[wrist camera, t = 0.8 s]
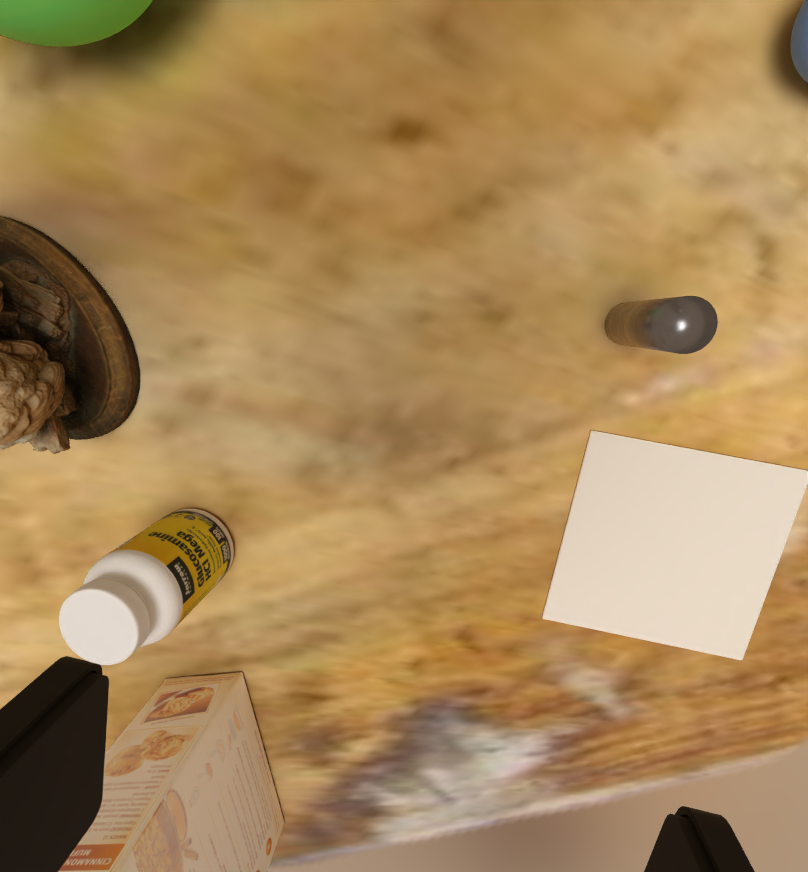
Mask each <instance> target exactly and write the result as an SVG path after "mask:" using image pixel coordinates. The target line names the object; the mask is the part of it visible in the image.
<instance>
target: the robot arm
mask: <svg viewBox="0 0 808 872" xmlns="http://www.w3.org/2000/svg"><path fill="white" fill-rule="evenodd" d="M108 689H109V679H108V677H107V676H104V675H102V667H101V666H100V664H96V663H92V662H88V661H84V660H80V659H76V658H72V657H68V656H66V657H62V658H60V659H59V660H58V661H56V662H55V663H54V664H53V665H51V666H50V667H49V668H48V669H47V670H46V671H44V672H43V673H42V674H41V675H40V676H39V677H37V678H36V679H35V680H34V681H33V682H32V683H31V684H29V685H28V686H27V687H26V688H25V689H24V690H22V691H21V692H20V693H19V694H18V695H17V696H15V697H14V698H13V699H12V700H11V701H10V702H8V703H7V704H6V705H5V706H4V707H3V708H2V709H0V872H58V871H59V870H60V868H61V867H62V865H63V864H64V863H65V861H66V860H67V859H68V857H69V856H70V854H71V853H72V852H73V850H74V849H75V847H76V846H77V845H78V843H79V842H80V840H81V839H82V838H83V836H84V835H85V833H86V832H87V831H88V829H89V828H90V826H91V825H92V823H93V822H94V820H95V818H96V816H97V814H98V812H99V809H100V806H101V803H102V797H103V779H104V761H105V743H106V725H107V707H108ZM644 872H754V870H753V868H752V866H751V864H750V862H749V860H748V858H747V856H746V855H745V853H744V851H743V849H742V847H741V845H740V843H739V841H738V839H737V837H736V836H735V834H734V832H733V830H732V828H731V826H730V825H729V823H728V822H727V820H726V819H725V818H724V817H722V816H721V815H718V814H713V813H709V812H705V811H701V810H697V809H693V808H689V807H684V806H682V807H680V808H679V809H678V811H677V812H676V814H675V815H673V814H669V815H667V817H666V819H665V821H664V824H663V826H662V828H661V831H660V834H659V836H658V838H657V841H656V843H655V846H654V849H653V851H652V853H651V856H650V858H649V861H648V863H647V866H646V868H645V871H644Z"/></svg>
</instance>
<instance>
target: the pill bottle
mask: <svg viewBox="0 0 808 872" xmlns="http://www.w3.org/2000/svg"><path fill="white" fill-rule="evenodd" d="M233 555H234V549H233V543H232V539H231V536H230V534H229V532H228V530H227V529H226V527H225V526H224V525H223V524H222V523H221V522H220V521H219V520H218V519H217V518H216V517H214V516H213V515H211V514H210V513H208V512H205V511H202V510H199V509H181V510H178V511H175V512H173V513H171V514H169V515H167V516H165V517H164V518H162V519H161V520H159V521H158V522H156V523H154V524H153V525H151V526H150V527H148V528H147V529H145V530H144V531H142V532H141V533H139V534H138V535H136V536H134V537H133V538H131V539H130V540H128V541H127V542H125V543H124V544H122V545H121V546H119V547H118V548H116V549H115V550H113V551H111V552H110V553H108V554H107V555H105V556H104V557H102V558H101V559H100V560H99V561H97V562H96V563H95V564H94V565H93V566H92V568H91V569H90V570H89V572H88V573H87V576H86V578H85V580H84V583H83V586H81V587H80V588H79V589H78V590H76V591H75V592H74V593H72V594H71V595H70V596H69V597H68V598H67V599H66V600H65V601H64V603H63V605H62V607H61V609H60V613H59V626H60V630H61V633H62V636H63V638H64V640H65V641H66V643H67V644H68V646H69V647H70V648H71V649H72V650H73V651H74V652H75V653H76V654H77V655H79V656H80V657H82V658H83V659H85V660H87V661H89V662H92V663H96V664H100V665H113V664H117V663H120V662H122V661H124V660H126V659H127V658H128V657H130V656H131V655H132V654H133V653H134V652H135V651H136V650H137V649H138V648H140V647H141V646H145V645H149V644H152V643H155V642H157V641H159V640H161V639H163V638H164V637H165V636H167V635H168V634H169V633H170V632H171V631H173V630H174V628H175V627H176V626H177V625H178V624H179V623H180V622H181V621H182V620H183V619H184V618H185V617H186V616H187V615H188V614H189V613H190V612H191V611H192V609H193V608H194V607H195V606H196V605H197V604H198V603H199V602H200V601H201V600H202V599H203V598H204V597H205V596H206V595H207V594H208V593H209V592H210V591H211V590H212V588H213V587H214V586H215V585H216V584H217V583H218V582H219V581H220V580H221V579H222V578H223V577H224V575H225V574H226V573H227V571H228V570H229V568H230V566H231V563H232V560H233Z"/></svg>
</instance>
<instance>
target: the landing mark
mask: <svg viewBox="0 0 808 872" xmlns="http://www.w3.org/2000/svg"><path fill="white" fill-rule="evenodd" d="M807 484H808V470H803V469H798V468H792V467H787V466H782V465H776V464H771V463H766V462H760V461H755V460H749V459H744V458H739V457H733V456H728V455H723V454H717V453H712V452H706V451H701V450H696V449H690V448H685V447H680V446H674V445H669V444H663V443H658V442H653V441H647V440H642V439H637V438H631V437H626V436H620V435H615V434H610V433H604V432H599V431H593V430H591V431H590V435H589V439H588V443H587V447H586V450H585V454H584V458H583V462H582V466H581V470H580V473H579V477H578V481H577V485H576V489H575V493H574V496H573V500H572V504H571V508H570V512H569V515H568V519H567V523H566V527H565V531H564V535H563V538H562V542H561V546H560V550H559V554H558V558H557V561H556V565H555V569H554V573H553V577H552V580H551V584H550V588H549V592H548V596H547V600H546V603H545V607H544V611H543V615H542V619H547V620H552V621H557V622H561V623H566V624H571V625H576V626H580V627H585V628H590V629H595V630H600V631H604V632H609V633H614V634H619V635H623V636H628V637H633V638H638V639H642V640H647V641H652V642H657V643H661V644H666V645H671V646H676V647H681V648H685V649H690V650H695V651H700V652H704V653H709V654H714V655H719V656H723V657H728V658H733V659H738V660H742V659H743V657H744V654H745V651H746V648H747V646H748V643H749V640H750V638H751V635H752V632H753V630H754V627H755V624H756V621H757V619H758V616H759V613H760V611H761V608H762V605H763V603H764V600H765V597H766V595H767V592H768V589H769V586H770V584H771V581H772V578H773V576H774V573H775V570H776V568H777V565H778V562H779V559H780V557H781V554H782V551H783V549H784V546H785V543H786V541H787V538H788V535H789V533H790V530H791V527H792V524H793V522H794V519H795V516H796V514H797V511H798V508H799V506H800V503H801V500H802V497H803V495H804V492H805V489H806V487H807Z"/></svg>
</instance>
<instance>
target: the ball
mask: <svg viewBox="0 0 808 872" xmlns="http://www.w3.org/2000/svg"><path fill="white" fill-rule="evenodd" d="M791 57H792V61H793V64H794V66H795V68H796V70H797V72H798V73H799V75H800V76H801V77H802V78H803V80H805V81H806V82H807V83H808V0H805V1H804V2H803V4H802V6H801V8H800V10H799V12H798V15H797V17H796V20H795V22H794V26H793V30H792V35H791Z"/></svg>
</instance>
